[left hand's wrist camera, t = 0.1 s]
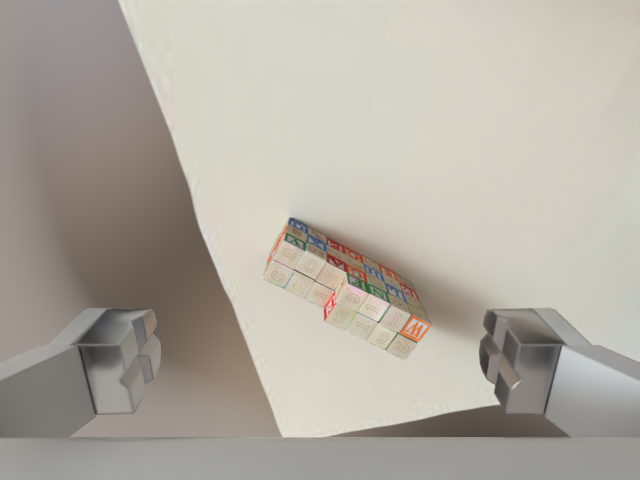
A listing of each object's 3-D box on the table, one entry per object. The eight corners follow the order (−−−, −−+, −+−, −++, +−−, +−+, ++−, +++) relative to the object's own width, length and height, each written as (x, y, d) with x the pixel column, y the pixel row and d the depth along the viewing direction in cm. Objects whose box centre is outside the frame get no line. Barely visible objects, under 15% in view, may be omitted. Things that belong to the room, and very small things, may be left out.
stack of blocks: (269, 250, 61) (257, 289, 50) (289, 215, 59) (282, 247, 48) (390, 312, 65) (405, 362, 53) (412, 281, 63) (433, 326, 51)
